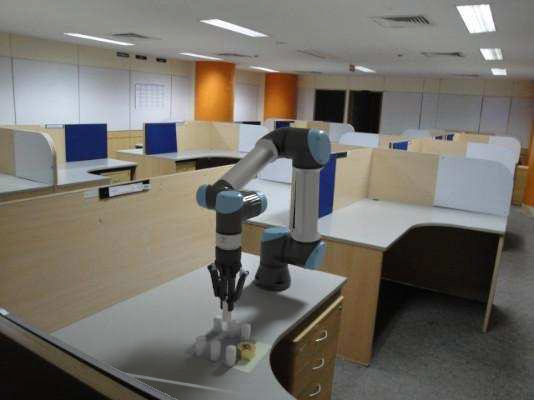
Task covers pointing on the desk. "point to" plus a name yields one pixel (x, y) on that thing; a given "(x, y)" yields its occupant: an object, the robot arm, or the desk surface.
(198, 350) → the spacer field
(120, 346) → the desk surface
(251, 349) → the nut
